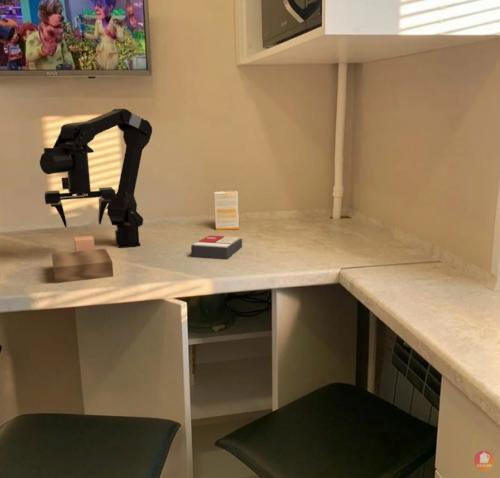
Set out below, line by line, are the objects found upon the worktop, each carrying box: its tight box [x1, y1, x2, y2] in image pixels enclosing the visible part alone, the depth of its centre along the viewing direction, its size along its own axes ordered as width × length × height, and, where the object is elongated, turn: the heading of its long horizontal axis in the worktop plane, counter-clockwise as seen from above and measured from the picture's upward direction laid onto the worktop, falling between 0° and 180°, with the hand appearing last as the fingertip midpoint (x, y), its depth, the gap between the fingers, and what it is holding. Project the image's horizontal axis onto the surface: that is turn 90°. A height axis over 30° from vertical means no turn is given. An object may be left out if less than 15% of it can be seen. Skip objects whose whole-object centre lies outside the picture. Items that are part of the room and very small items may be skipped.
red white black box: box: [190, 235, 243, 260], centre depth 163 cm, size 11×4×15 cm
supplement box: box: [213, 190, 240, 231], centre depth 193 cm, size 8×5×13 cm, turn 93°
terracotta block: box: [73, 235, 96, 252], centre depth 157 cm, size 5×5×6 cm
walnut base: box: [51, 248, 114, 284], centre depth 144 cm, size 14×14×4 cm
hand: (82, 225), depth 156 cm, fingers open, 9 cm apart
